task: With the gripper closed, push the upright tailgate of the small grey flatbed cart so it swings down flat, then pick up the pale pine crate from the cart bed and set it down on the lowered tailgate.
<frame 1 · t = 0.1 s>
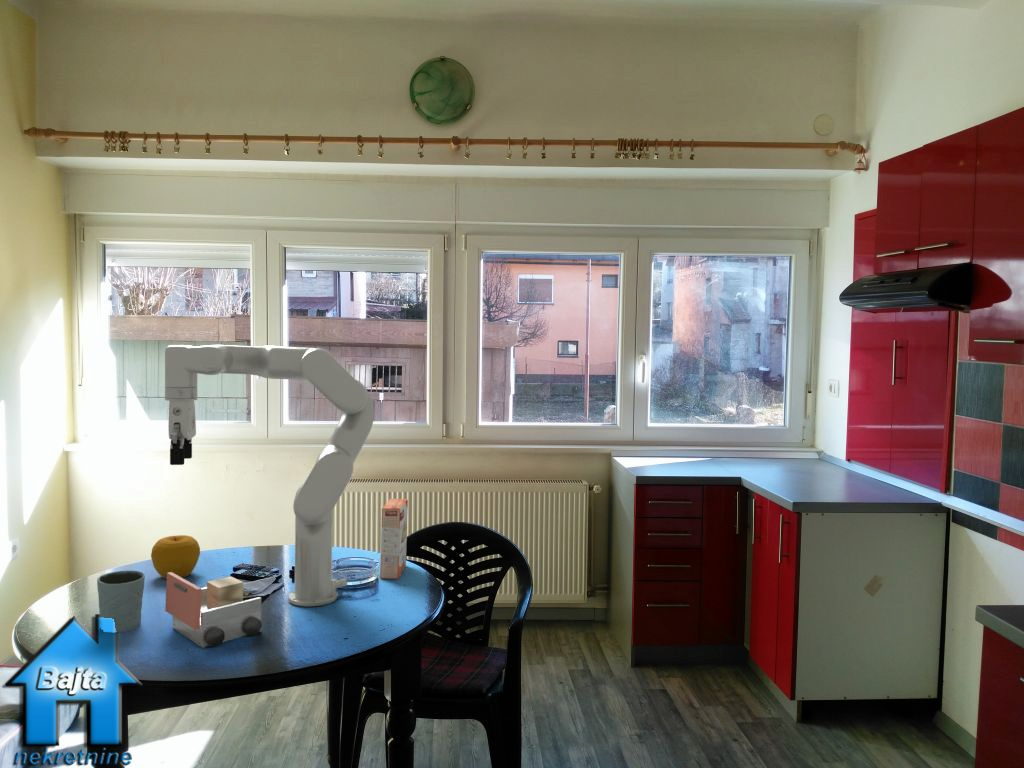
hand: (181, 461, 192), 37 cm above the table, tool pointing down, fingers open, 9 cm apart
grey round bin: (121, 627, 180), on the table
tailgate: (182, 600, 173), point 9 cm above the table, hinge at -3.0°
cracker box: (393, 572, 226), on the table
apple: (176, 576, 218), on the table
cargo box: (224, 606, 180), point 5 cm above the table, touching cart
cart: (216, 629, 179), on the table
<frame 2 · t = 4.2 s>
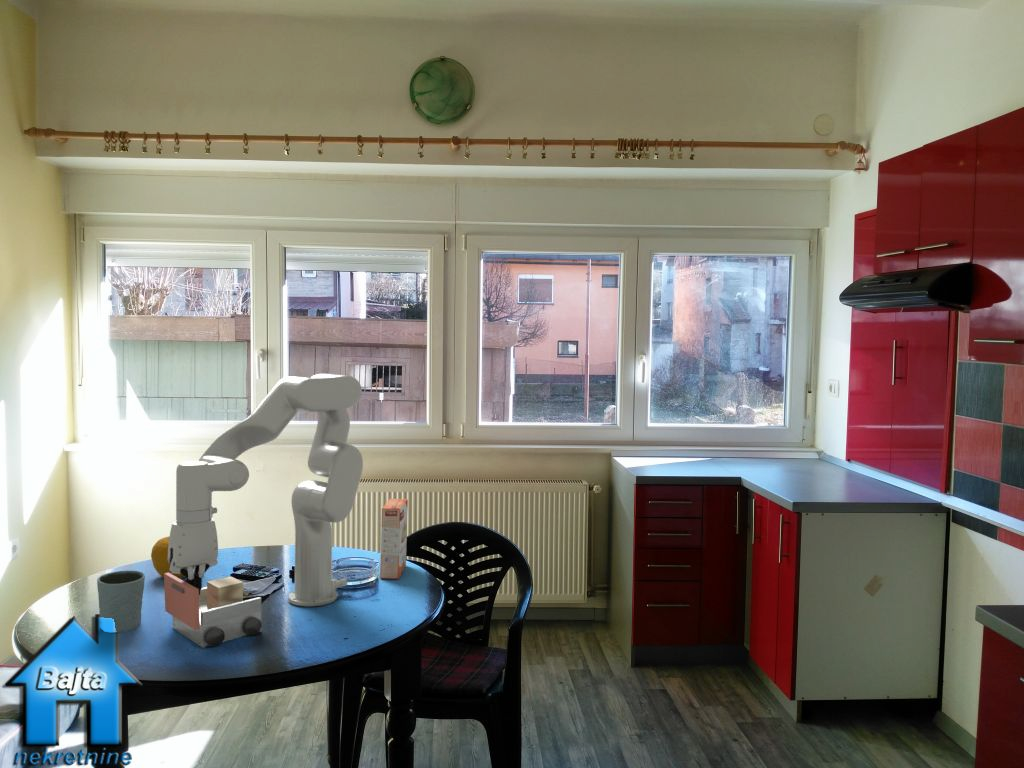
hand: (193, 594, 175), 10 cm above the table, tool pointing down, fingers closed
tailgate: (180, 600, 172), point 9 cm above the table, hinge at 1.5°, touching gripper
everything else where it was.
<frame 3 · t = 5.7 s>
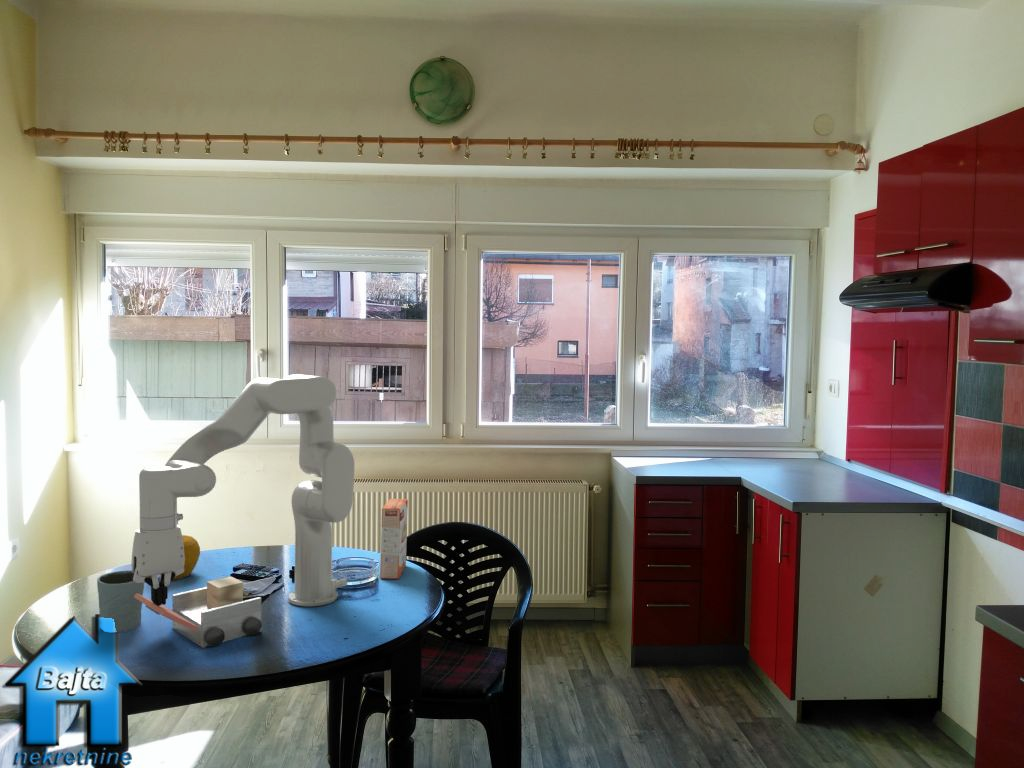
hand: (159, 603, 169), 9 cm above the table, tool pointing down, fingers closed
tailgate: (165, 612, 170), point 7 cm above the table, hinge at 53.3°, touching gripper
everything else where it was.
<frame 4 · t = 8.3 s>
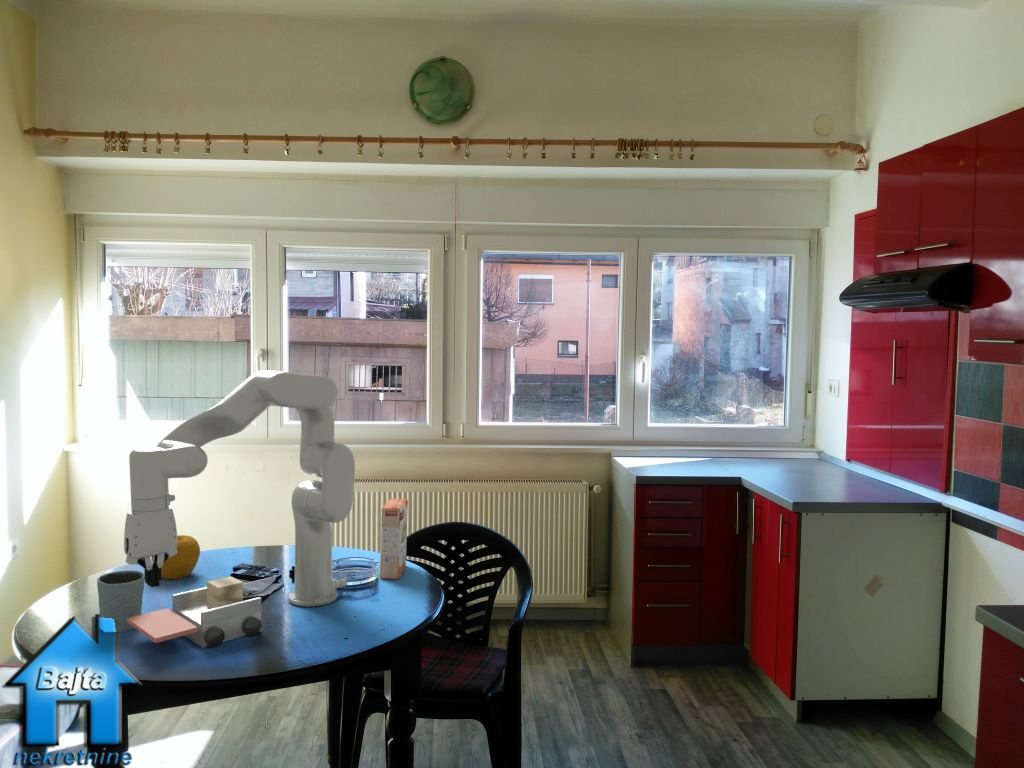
hand: (153, 585, 168), 14 cm above the table, tool pointing down, fingers closed
tailgate: (161, 625, 170), point 4 cm above the table, hinge at 90.2°
everything else where it was.
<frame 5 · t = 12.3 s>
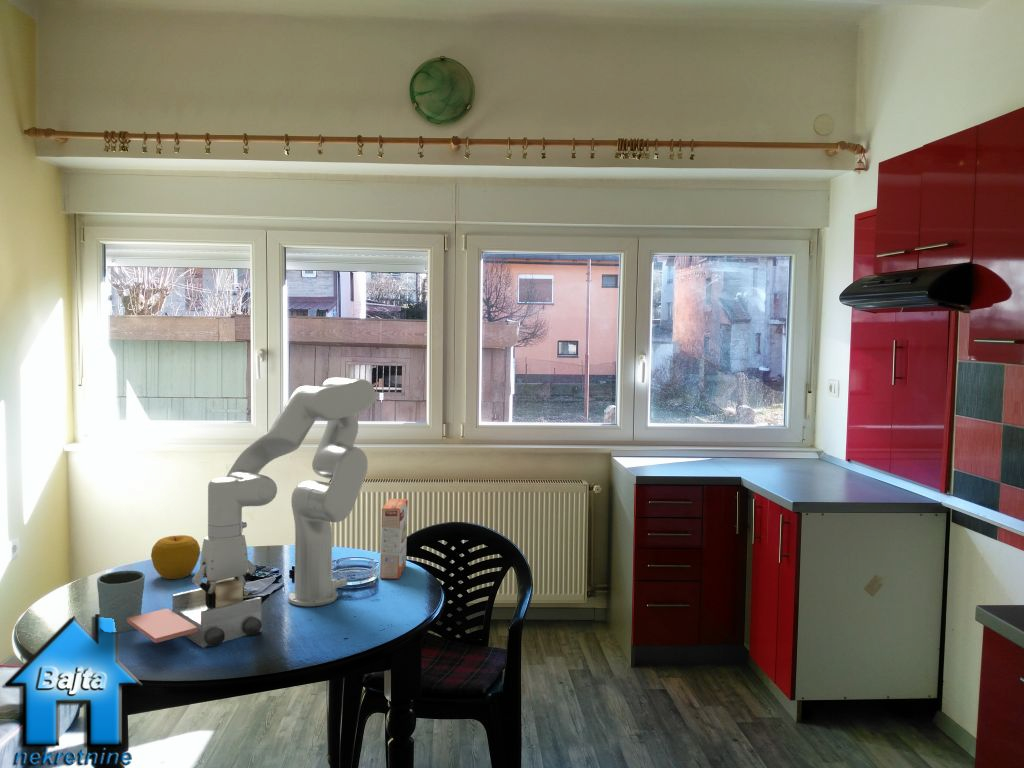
hand: (224, 604, 180), 6 cm above the table, tool pointing down, fingers closed on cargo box, 6 cm apart
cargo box: (224, 606, 180), point 5 cm above the table, touching cart, gripper
everything else where it was.
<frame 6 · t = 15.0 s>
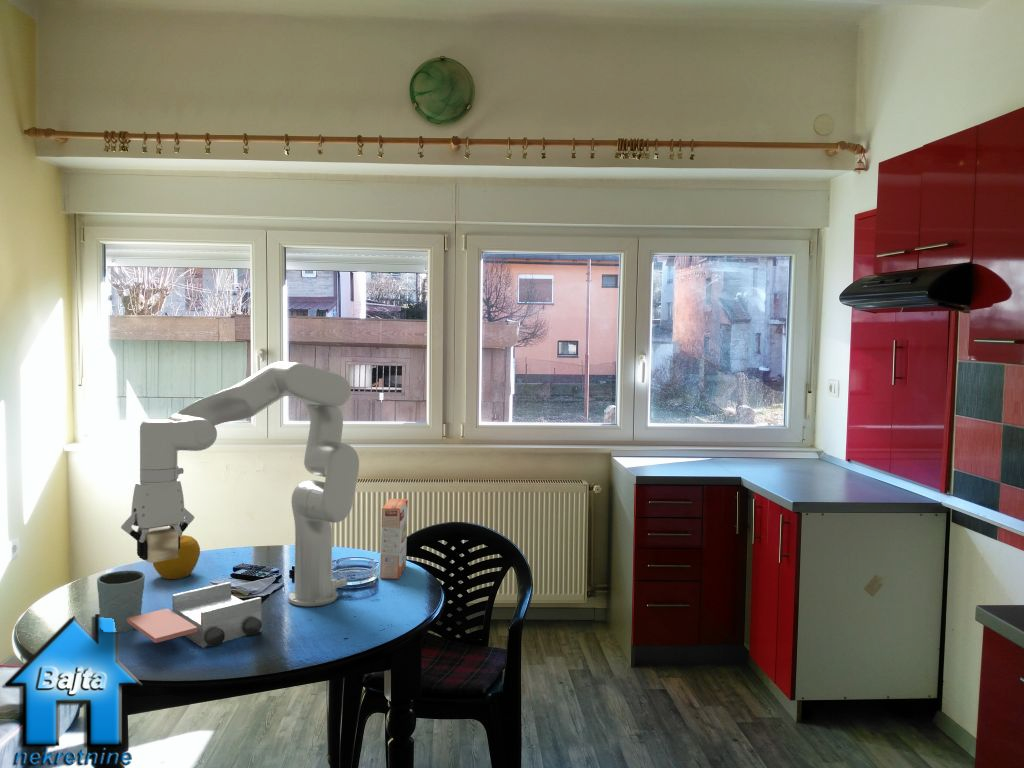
hand: (158, 555, 168), 20 cm above the table, tool pointing down, fingers closed on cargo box, 6 cm apart
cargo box: (158, 557, 168), point 20 cm above the table, touching gripper
everything else where it was.
when the fingers open (7 cm above the table, at t = 17.8 s): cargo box drops 1 cm, resting on tailgate.
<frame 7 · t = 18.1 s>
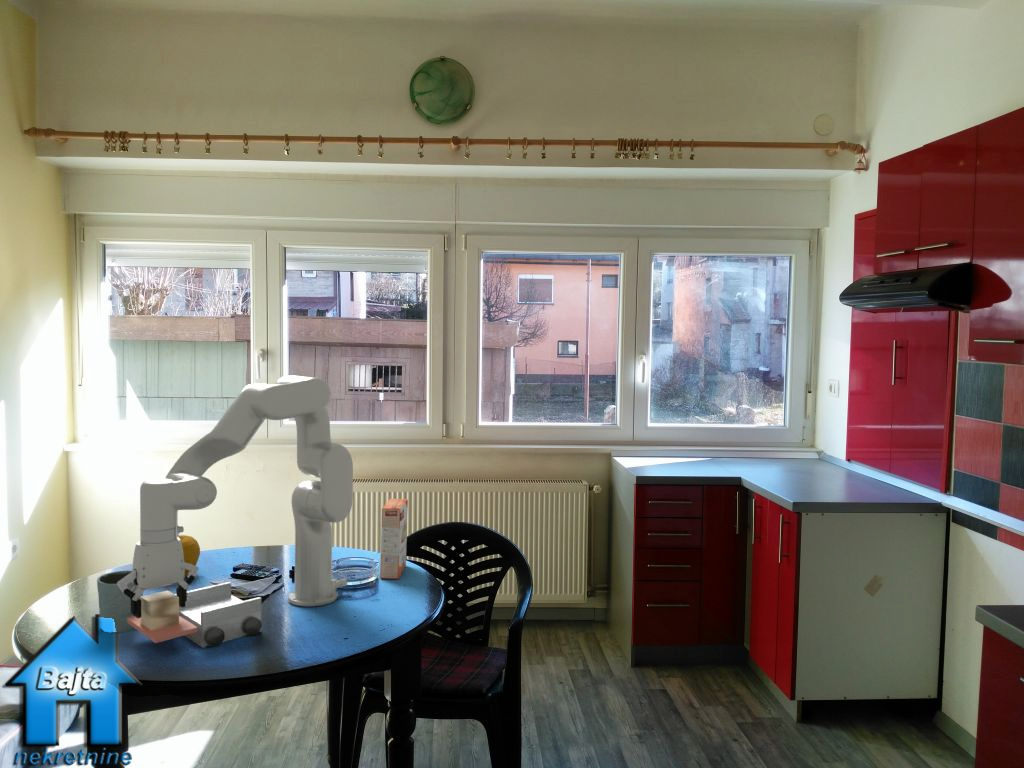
hand: (159, 610, 169), 8 cm above the table, tool pointing down, fingers open, 9 cm apart
tailgate: (161, 625, 170), point 4 cm above the table, hinge at 90.3°, touching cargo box
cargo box: (159, 623, 169), point 5 cm above the table, touching tailgate
everything else where it was.
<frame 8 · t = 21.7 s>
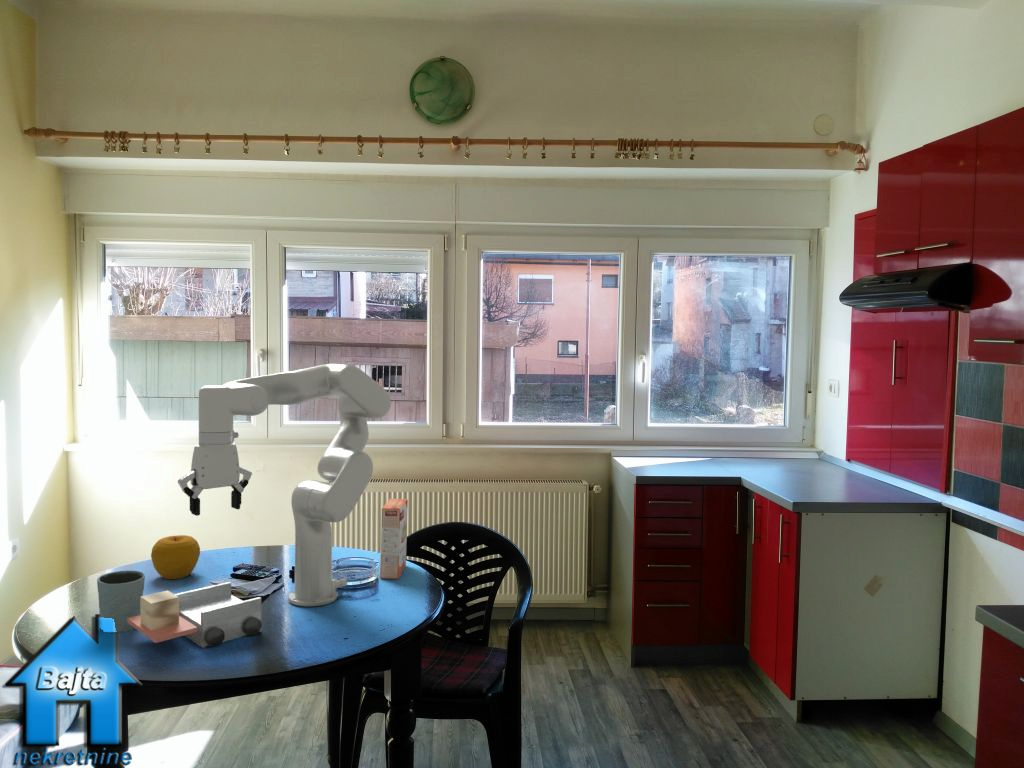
hand: (216, 511, 177), 28 cm above the table, tool pointing down, fingers open, 9 cm apart
nothing on the table moved.
at the end: tailgate at +90° (first picture: -3°); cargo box inside the target area (0.9 cm from its centre), point 5.0 cm above the table; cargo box touching tailgate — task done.
